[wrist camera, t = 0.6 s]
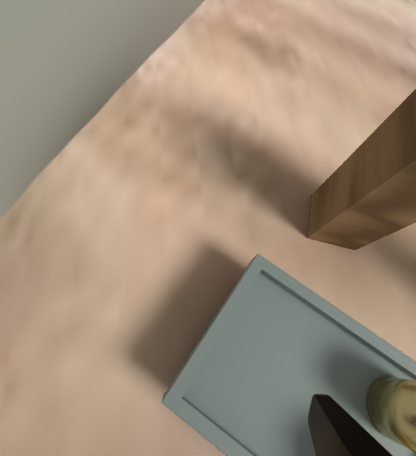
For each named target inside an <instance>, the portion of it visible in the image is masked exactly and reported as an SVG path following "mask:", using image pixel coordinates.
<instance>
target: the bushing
mask: <svg viewBox="0 0 416 456" xmlns="http://www.w3.org/2000/svg"><path fill="white" fill-rule="evenodd" d="M366 408H367V412H368V416H369V418H370V420H371V422H372V424H373V425H374V427H375V428H376V429H377V430H378V432H379V433H381V434H382V435H383V436H384V437H386V438H388V439H390V440H392V441H394V442H396V443H398V444H400V445H402V446H404V447H406V448H408V449H410V450H412V451H414V452H415V453H416V381H412V380H407V379H402V378H397V377H392V376H381V377H378V378H376V379H375V380H374V381H373V382H372V383H371V384H370V386H369V388H368V390H367V394H366Z"/></svg>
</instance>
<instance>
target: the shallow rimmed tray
mask: <svg viewBox="0 0 416 456" xmlns="http://www.w3.org/2000/svg"><path fill="white" fill-rule="evenodd" d="M381 376H392V377H397V378H402V379H407V380H412V381H416V362H415V361H414V360H412V359H411V358H410V357H408V356H407V355H405V354H404V353H402V352H401V351H399V350H398V349H396V348H395V347H393V346H392V345H391V344H389V343H388V342H386V341H385V340H383V339H382V338H380V337H379V336H377V335H376V334H374V333H373V332H372V331H370V330H369V329H367V328H366V327H364V326H363V325H361V324H360V323H358V322H357V321H356V320H354V319H353V318H351V317H350V316H348V315H347V314H345V313H344V312H342V311H341V310H339V309H338V308H337V307H335V306H334V305H332V304H331V303H329V302H328V301H326V300H325V299H323V298H322V297H320V296H319V295H318V294H316V293H315V292H313V291H312V290H310V289H309V288H307V287H306V286H304V285H303V284H301V283H300V282H299V281H297V280H296V279H294V278H293V277H291V276H290V275H288V274H287V273H285V272H284V271H283V270H281V269H280V268H278V267H277V266H275V265H274V264H272V263H271V262H269V261H268V260H266V259H265V258H264V257H262V256H261V255H259V254H257V255H256V256H255V257H254V258H253V259H252V260H251V262H250V263H249V265H248V266H247V268H246V269H245V271H244V272H243V274H242V275H241V277H240V278H239V280H238V281H237V283H236V285H235V286H234V288H233V289H232V291H231V292H230V294H229V295H228V297H227V298H226V300H225V301H224V303H223V305H222V306H221V308H220V309H219V311H218V312H217V314H216V315H215V317H214V318H213V320H212V321H211V323H210V325H209V326H208V328H207V329H206V331H205V332H204V334H203V335H202V337H201V338H200V340H199V341H198V343H197V345H196V346H195V348H194V349H193V351H192V352H191V354H190V355H189V357H188V358H187V360H186V361H185V363H184V364H183V366H182V368H181V369H180V371H179V372H178V374H177V375H176V377H175V378H174V380H173V381H172V383H171V384H170V386H169V388H168V389H167V391H166V392H165V394H164V395H163V400H162V403H163V404H164V405H165V406H166V407H168V408H169V409H170V410H171V411H173V412H174V413H175V414H176V415H178V416H179V417H180V418H181V419H182V420H184V421H185V422H186V423H187V424H189V425H190V426H191V427H192V428H194V429H195V430H196V431H197V432H198V433H200V434H201V435H202V436H203V437H205V438H206V439H207V440H208V441H210V442H211V443H212V444H213V445H214V446H216V447H217V448H218V449H219V450H221V451H222V452H223V453H224V454H226V455H227V456H316V454H315V450H314V446H313V442H312V438H311V434H310V430H309V425H308V414H309V409H310V404H311V400H312V396H313V395H314V394H327V395H329V396H331V397H332V398H333V399H334V400H335V401H336V402H337V403H338V404H339V405H340V406H341V407H342V408H343V409H344V410H345V411H346V412H348V413H349V414H350V415H351V416H352V417H353V418H354V419H355V420H356V421H357V422H358V423H359V424H360V425H361V426H362V427H363V428H364V429H365V430H366V431H368V432H369V433H370V434H371V435H372V436H373V437H374V438H375V439H376V440H377V441H378V442H379V443H380V444H381V445H382V446H383V447H384V448H385V449H386V450H388V451H389V452H390V453H391V454H392V455H393V456H416V453H415V452H414V451H412V450H410V449H408V448H406V447H404V446H402V445H400V444H398V443H396V442H394V441H392V440H390V439H388V438H386V437H384V436H383V435H382V434H381V433H379V432H378V430H377V429H376V428H375V427H374V425H373V424H372V422H371V420H370V418H369V416H368V412H367V408H366V394H367V390H368V388H369V386H370V384H371V383H372V382H373V381H374V380H375V379H376V378H378V377H381Z"/></svg>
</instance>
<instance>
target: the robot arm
mask: <svg viewBox="0 0 416 456" xmlns="http://www.w3.org/2000/svg"><path fill="white" fill-rule="evenodd" d="M308 425H309V430H310V434H311V438H312V442H313V446H314V450H315V454H316V456H393V455H392V454H391V453H390V452H389V451H388V450H386V449H385V448H384V447H383V446H382V445H381V444H380V443H379V442H378V441H377V440H376V439H375V438H374V437H373V436H372V435H371V434H370V433H369V432H368V431H366V430H365V429H364V428H363V427H362V426H361V425H360V424H359V423H358V422H357V421H356V420H355V419H354V418H353V417H352V416H351V415H350V414H349V413H348V412H346V411H345V410H344V409H343V408H342V407H341V406H340V405H339V404H338V403H337V402H336V401H335V400H334V399H333V398H332V397H331V396H329V395H327V394H314V395H313V396H312V400H311V404H310V409H309V414H308Z"/></svg>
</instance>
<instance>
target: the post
mask: <svg viewBox="0 0 416 456" xmlns="http://www.w3.org/2000/svg"><path fill="white" fill-rule="evenodd" d="M415 222H416V89H415V90H414V91H413V92H412V93H411V94H410V95H409V96H408V97H407V98H406V99H405V100H404V101H403V102H402V104H401V105H400V106H399V107H398V108H397V109H396V110H395V111H394V112H393V113H392V114H391V115H390V116H389V117H388V118H387V119H386V120H385V121H384V122H383V123H382V124H381V125H380V126H379V127H378V128H377V129H376V130H375V131H374V132H373V133H372V134H371V135H370V136H369V137H368V138H367V139H366V140H365V141H364V142H363V143H362V144H361V145H360V146H359V147H358V148H357V149H356V150H355V152H354V153H353V154H352V155H351V156H350V157H349V158H348V159H347V160H346V161H345V162H344V163H343V164H342V165H341V166H340V167H339V168H338V169H337V170H336V171H335V172H334V173H333V174H332V175H331V176H330V177H329V178H328V179H327V180H326V181H325V182H324V183H323V184H322V185H321V186H320V187H319V188H318V189H317V190H316V191H315V192H314V193H313V194H312V195H311V205H310V216H309V227H308V238H309V239H313V240H317V241H321V242H325V243H329V244H333V245H337V246H341V247H345V248H349V249H353V250H356V249H359V248H361V247H363V246H365V245H367V244H369V243H372V242H374V241H376V240H378V239H380V238H382V237H385V236H387V235H389V234H391V233H393V232H395V231H398V230H400V229H402V228H404V227H406V226H408V225H411V224H413V223H415Z"/></svg>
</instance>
